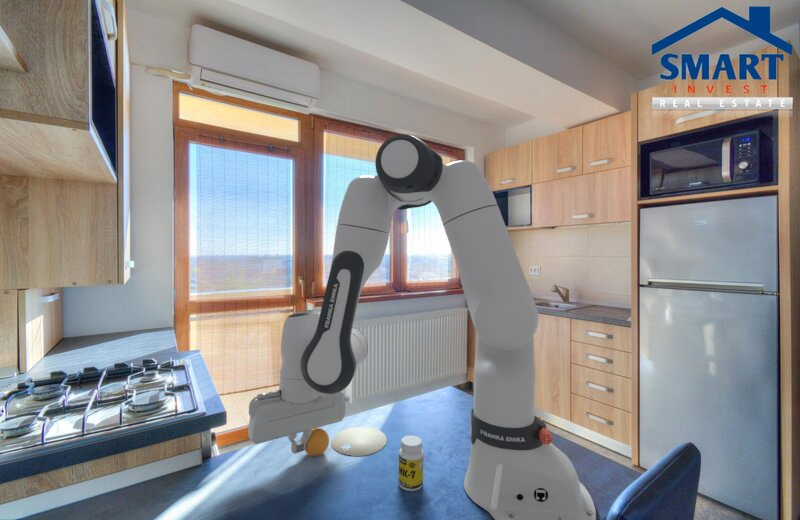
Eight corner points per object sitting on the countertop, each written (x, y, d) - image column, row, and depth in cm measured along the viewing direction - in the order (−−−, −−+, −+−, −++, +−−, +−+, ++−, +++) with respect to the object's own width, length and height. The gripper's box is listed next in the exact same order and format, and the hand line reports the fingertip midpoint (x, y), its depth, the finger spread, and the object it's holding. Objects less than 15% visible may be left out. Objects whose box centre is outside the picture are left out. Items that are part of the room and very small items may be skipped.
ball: (310, 466, 75) (333, 451, 78) (309, 453, 72) (333, 439, 75) (299, 444, 78) (322, 431, 81) (298, 431, 75) (321, 418, 78)
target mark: (393, 431, 87) (393, 430, 87) (376, 460, 75) (376, 459, 75) (345, 424, 90) (345, 424, 90) (321, 451, 78) (321, 450, 78)
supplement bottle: (393, 487, 66) (394, 442, 66) (405, 473, 70) (405, 431, 70) (416, 495, 64) (417, 449, 64) (427, 481, 68) (427, 437, 68)
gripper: (253, 401, 65) (250, 475, 65) (349, 382, 78) (347, 444, 77) (245, 390, 70) (242, 458, 70) (337, 374, 83) (335, 432, 83)
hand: (298, 450), depth 74 cm, fingers closed
